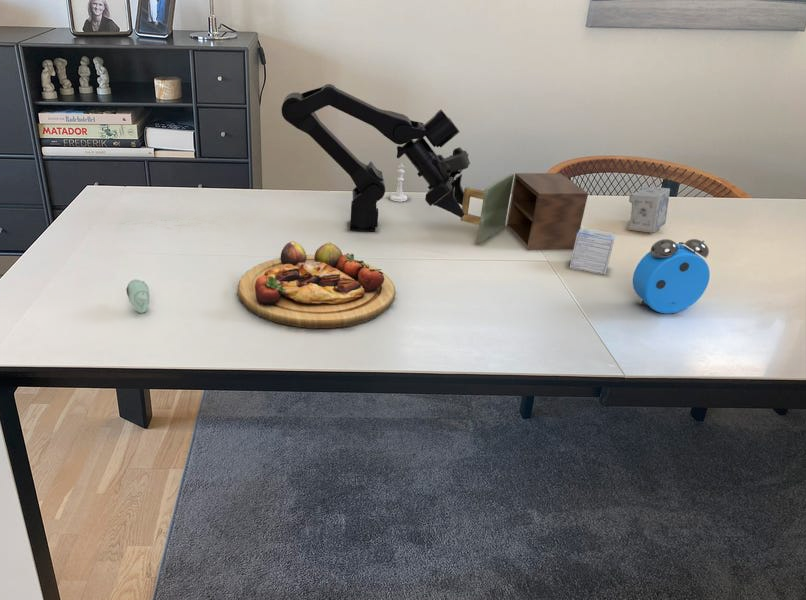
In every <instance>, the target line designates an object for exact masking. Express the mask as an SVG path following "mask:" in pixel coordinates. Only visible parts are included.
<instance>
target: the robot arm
mask: <svg viewBox="0 0 806 600" xmlns="http://www.w3.org/2000/svg"><path fill="white" fill-rule="evenodd" d="M328 106H330V107H332V108H334V109H336V110H338V111H340V112H343V113H345V114H347V115H349V116H351V117H353V118H354V119H357V120H359V121H361V122H363V123H365V124H367V125H369V126H371V127H373V128H374V129H376V130H377V131H378V132H379V133H380V134H382V135H383V136H384V137H385V138H386V139H388V140H389V141H390V142H391V143H394V144H396V145H397V146H396V150H397V152H396V159H400V158H401V157H403V156H404V155H405V156H406V158H407V159H408V160H409V161H410V163H411V164H412V165H413V167H414V168H415V169H416V171H417V173H416V174H417V176H418V177H419V178H420V177H422V178H423V179H424V181H425V182H426V183H427V184H428V186H427V189H428V190H427V192H426V194H425V198H424V201H425V202H426V203H427V204H428V206H429V207H432V206H434V207H438V208H440V209H443V210H445V211H447V212H449V213H451V214H453V215H455V216H457V217H459V218H461V217H463V216H464V212H463V210H462V204H463V197H464V189H463V187H462V184H461V183H462V178H463V173H462V172H463V170H466V169H468V168H469V166H470V165H471V162H470V159H469V153H468V152H467V150H463V149H462V148H461V147H460V146H459V147H456V148H454V149H453V150H452V154H451V155H449V156H447V157H444V156H443V155H442V154H437V153H436V151H434V149H433V148H442V147H444V146H445V145H446V144H447V143H448V142H450V141H451V140H452V139H454V137H456V136H457V135H458V134H459V133H461V132H460V130H459V128H458V127H457V125H456V124H455V123H454V121H453V120H452V118H450V117H448V115H447V114H446V113H445V112H444V111H443V109H439V110H437V112H436V113H435V114H434V115H433V116H432V117H431V118H430V119H429V120H428V121H426V122H425V123H424V122H420V121H416V120H412V119H410V118H409V116H407V115H405V114H402V113H399V112H395V111H391V110H385V109H381V108H379V107H376V106H374V105H372V104H370V103H368V102H366V101H364V100H362V99H360V98H359V97H356V96H354V95H352V94H349V93H347V92H346V91H343V90H342V89H339V88H337V87H336V86H335V85H334V84H331V83H326V84H324V85H323V86H321V87H317V88H313V89H311V90H307V91H305V92H302V93H300V92H291V93H288V94H287V95H286V96H285V98H284V100H283V102H282V105H281V116H282V118H283V119H284V120H285V121H286V122H287V123H289V124H290V125H291V126H293V127H295V128H296V129H297V130H299V131H301V132H303V133H305V134H307V136H310V138H311V139H312V140H313V141H314V142H315V143H316V144H317V145H318V146H320V148H322V150H323V151H324V152H326V153H327V155H328V156H329V157H331V159H332V160H333V161H334V162H335V163H336V164H337V165H338V166H340V168H341V169H343V171H345V172H346V174H348V176H349V177H350V179H351V180H352V182H353V184H354V185H355V187H354V188H353V189H352V200H351V202H350V203H351V204H350V219H349V231H353V232H369V233H370V232H372V233H373V232H374V233H375V232H376V228H378V224H379V208H378V207H377V203H378V201H380V200H382V199H383V198H384V196H385V194H386V186H385V185H386V184H385V180H384V176H383V171H382V170H379V169H378V168H377V167H376V166H375V164H374V163H373V162H372V161H369V163H368V164H365V162H364V163H363V162H362V161H360V160H359V159H358V158H357V157H356V156H355V154H353V153H352V152H351V150H349V148H348V147H346V146H345V144H343V142H342V141H341V140H340V139H338V137H337V136H336V135H334V133H333V132H332V131H331V130H330V129H329V128H328V127H327V126H326V125H325V124H324V123H323V122H322V121H321V119H320V118H319V117H318V114H317V113H316V112H317V111H319V110H322V109H323V108H326V107H328ZM425 138H426V139H427V140H426V139H425ZM427 141H428V142H429V143H430V144H431V145H432V147H433V148H432V147H431V146H430V144H429V143H428V142H427Z"/></svg>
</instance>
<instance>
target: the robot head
mask: <svg viewBox="0 0 806 600" xmlns="http://www.w3.org/2000/svg"><path fill="white" fill-rule="evenodd" d="M126 295H127V298H128V301H129V304H130V305H131V307H132V308H133V309H134V310H135V311H136V312H138V313H140V314H142V313H146V311H147V310H148V308H149V305H150V289H149V286H148V284H147V283H146V282H145V280H140V279H132V280H131V281H129V282H128V284H127V286H126Z"/></svg>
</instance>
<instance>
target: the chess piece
mask: <svg viewBox="0 0 806 600" xmlns="http://www.w3.org/2000/svg"><path fill="white" fill-rule="evenodd" d="M398 168H400V169H397V175H398V177H396V181H398V182H397V187H396V191H395V192H394V193H392V194H390V196H389V200H391V201H393V202H399V203H400V202H406V201H408V196H407V195H406V194H404V192H403V181H405V178H404V177H403V176H404V174H405V172H406V171H405V169H404V168H406V167H405V165H403V162H401V163H400V165H399V164H398Z"/></svg>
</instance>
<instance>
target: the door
mask: <svg viewBox="0 0 806 600" xmlns="http://www.w3.org/2000/svg"><path fill="white" fill-rule="evenodd" d="M514 178H515V173H510V174H508V175H505V176H504V177H503V178H500V179H499V180H498V181H496V182H494V183H492V184H491V185H489V186H487V187H485V188H484V190H481V189H477V188H474V187H469V186H468V187H464V189H463V191H464V197H463V204H462V205H461V208H462V210H463V212H464V216H463V217H460V221H461V222H464V223H468V224H472V225H476V226H478V231H477V239H476V244H477V245H481V244H482V243H483V242H485V241H486V240H488V239H489V238H491V237H492V236H494V235H495V234H496V233H498V232H499V231H500V230H502V229H503V228H505V227H506V224H507V218H508V212H509V207H510V201H511V195H512V189H513V183H514ZM471 198H474V199H479V200H482V206H481V211H480V216H478V215H476V214H470V213H469V209H470V201H471Z"/></svg>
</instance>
